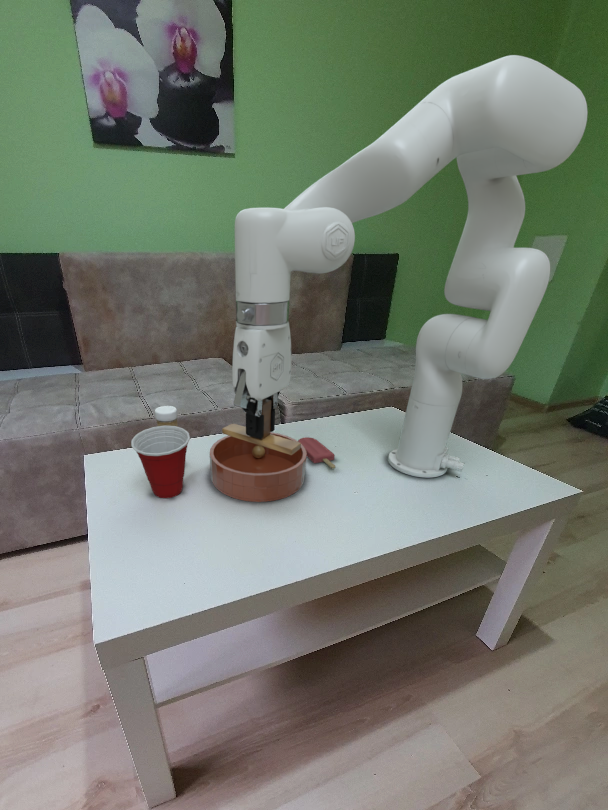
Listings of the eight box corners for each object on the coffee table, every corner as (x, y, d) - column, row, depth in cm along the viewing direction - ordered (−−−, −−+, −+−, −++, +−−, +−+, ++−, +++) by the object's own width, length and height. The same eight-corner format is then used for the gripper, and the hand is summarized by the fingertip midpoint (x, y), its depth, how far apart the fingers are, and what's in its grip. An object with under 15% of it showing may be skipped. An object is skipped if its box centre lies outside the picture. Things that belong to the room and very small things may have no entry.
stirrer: (300, 448, 63) (304, 407, 59) (291, 455, 61) (294, 413, 57) (232, 428, 70) (231, 390, 66) (222, 433, 68) (220, 395, 64)
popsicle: (323, 466, 84) (294, 438, 96) (322, 472, 84) (293, 444, 96) (345, 462, 85) (313, 435, 97) (344, 469, 86) (312, 441, 98)
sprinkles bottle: (157, 465, 87) (150, 408, 80) (174, 458, 90) (168, 403, 83) (168, 472, 84) (162, 414, 77) (186, 465, 87) (181, 409, 80)
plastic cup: (128, 500, 75) (117, 444, 69) (158, 473, 84) (151, 422, 77) (177, 511, 72) (171, 454, 66) (203, 482, 81) (199, 430, 74)
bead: (267, 457, 89) (267, 445, 88) (260, 461, 87) (260, 450, 86) (257, 453, 91) (257, 441, 89) (249, 458, 89) (249, 446, 87)
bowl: (320, 471, 85) (323, 446, 82) (270, 514, 71) (271, 487, 68) (248, 446, 95) (248, 424, 92) (191, 480, 81) (189, 455, 78)
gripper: (251, 325, 47) (250, 457, 57) (312, 309, 58) (303, 422, 68) (204, 319, 51) (211, 444, 61) (270, 305, 62) (267, 413, 72)
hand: (260, 432), depth 64 cm, fingers closed on stirrer, 2 cm apart
